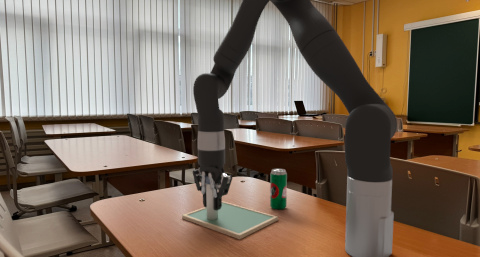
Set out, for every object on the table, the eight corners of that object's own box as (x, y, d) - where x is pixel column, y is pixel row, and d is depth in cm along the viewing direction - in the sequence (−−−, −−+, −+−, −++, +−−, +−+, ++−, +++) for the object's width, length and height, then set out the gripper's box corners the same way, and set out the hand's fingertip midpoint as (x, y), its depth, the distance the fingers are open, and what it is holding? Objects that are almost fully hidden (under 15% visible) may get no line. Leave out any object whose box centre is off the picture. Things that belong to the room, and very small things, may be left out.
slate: (277, 220, 96) (277, 216, 96) (239, 239, 84) (239, 235, 84) (222, 204, 110) (222, 201, 110) (182, 218, 98) (182, 215, 98)
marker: (221, 217, 96) (220, 175, 95) (212, 220, 93) (211, 177, 92) (212, 214, 98) (211, 173, 97) (203, 218, 96) (203, 176, 94)
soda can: (285, 211, 104) (286, 172, 102) (269, 209, 105) (269, 171, 103) (286, 205, 109) (287, 168, 107) (271, 204, 110) (271, 167, 108)
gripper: (239, 148, 92) (240, 210, 94) (203, 143, 101) (204, 199, 103) (220, 151, 86) (221, 217, 88) (184, 146, 95) (185, 206, 97)
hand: (212, 207), depth 96 cm, fingers open, 3 cm apart
